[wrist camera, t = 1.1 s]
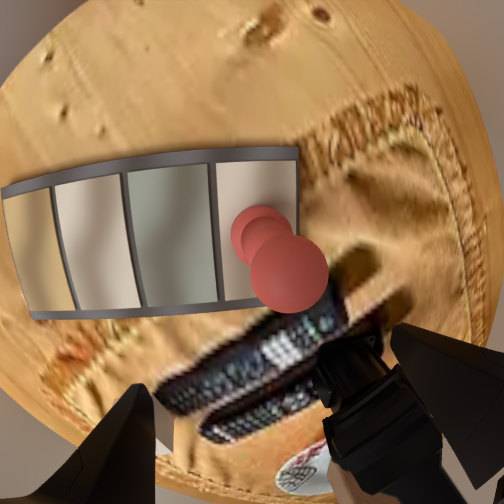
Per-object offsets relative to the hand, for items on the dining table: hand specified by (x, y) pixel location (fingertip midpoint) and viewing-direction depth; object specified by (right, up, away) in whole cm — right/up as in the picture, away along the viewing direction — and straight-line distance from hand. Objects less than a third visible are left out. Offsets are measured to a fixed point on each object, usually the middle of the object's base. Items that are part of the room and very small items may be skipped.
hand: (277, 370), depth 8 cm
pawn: (0, +5, +11) cm, 12 cm away
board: (-9, +5, +11) cm, 15 cm away
